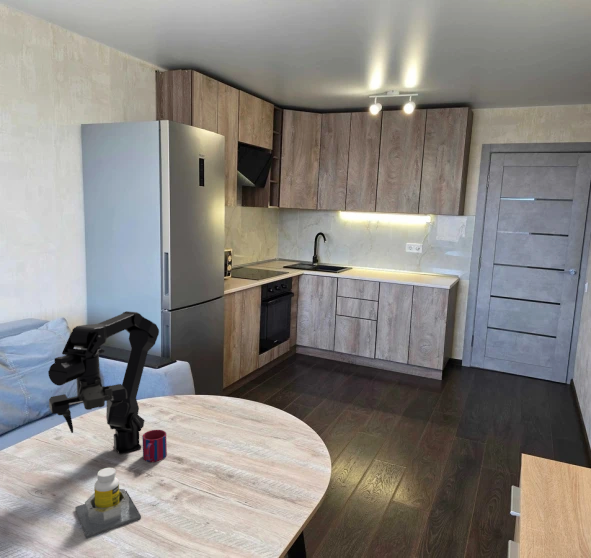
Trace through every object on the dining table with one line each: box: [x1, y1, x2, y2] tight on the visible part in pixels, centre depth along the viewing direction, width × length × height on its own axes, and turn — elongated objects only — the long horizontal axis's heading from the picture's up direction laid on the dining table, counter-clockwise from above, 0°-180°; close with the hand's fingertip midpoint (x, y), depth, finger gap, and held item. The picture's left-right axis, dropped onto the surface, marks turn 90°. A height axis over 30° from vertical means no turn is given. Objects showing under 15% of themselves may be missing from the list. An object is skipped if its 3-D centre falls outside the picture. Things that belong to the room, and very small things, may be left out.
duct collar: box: [74, 488, 142, 539], centre depth 110 cm, size 12×12×4 cm
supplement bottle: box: [94, 467, 120, 509], centre depth 110 cm, size 5×5×10 cm
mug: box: [141, 429, 168, 463], centre depth 135 cm, size 7×10×7 cm
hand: (90, 428), depth 126 cm, fingers open, 9 cm apart
